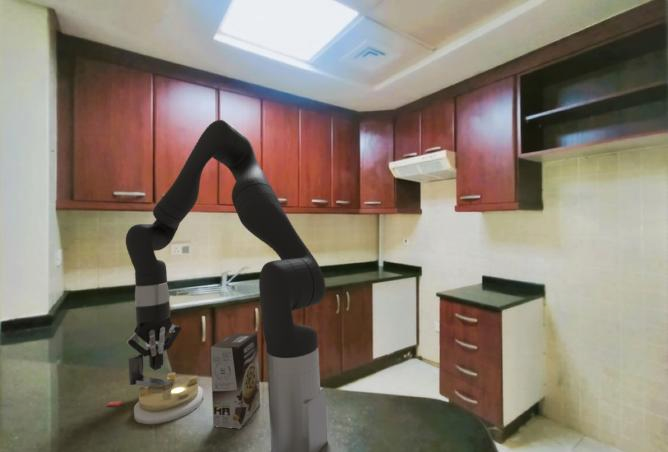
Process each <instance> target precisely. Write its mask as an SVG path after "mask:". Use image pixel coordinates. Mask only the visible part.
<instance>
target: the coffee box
mask: <svg viewBox="0 0 668 452" xmlns="http://www.w3.org/2000/svg"><path fill="white" fill-rule="evenodd" d="M258 348H259V347H258V333H257V332H253V333H252V332H244V333H243V332H242V333H231V334H230V335H228V336H227V337H224V338H223V339H222V340H219V341H218V342H216V343H215V344H213V345H212V346H210V362H211V363H210V364H211V365H210V366H211V371H210V372H211V390H212V391H211V394H212V396H211V397H212V427H214V428H216V427H215V426H218V427H217V428H221V427H232V428H241V429H242V428H243V427H244V426H245V424H246V423H247V422H248V421H249V419H251V417H252V416H253V415H254V413H255V412H256V411H257V409H258V408H259V407H260V406H261V393H260V391H261V390H260V388H261V387H260V372H259V371H260V368H259V349H258ZM243 425H244V426H243ZM242 426H243V427H242ZM232 428H231V429H232Z"/></svg>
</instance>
